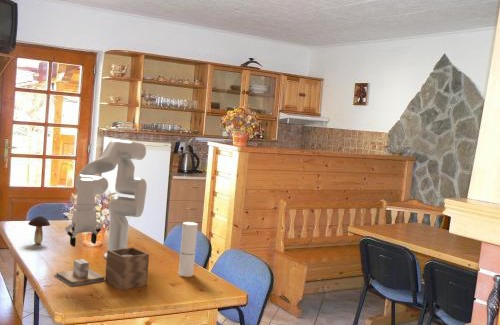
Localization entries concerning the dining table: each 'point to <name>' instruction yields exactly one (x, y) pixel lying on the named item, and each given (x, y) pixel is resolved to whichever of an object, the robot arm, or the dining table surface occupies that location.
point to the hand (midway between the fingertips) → (83, 244)
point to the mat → (77, 284)
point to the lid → (80, 273)
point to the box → (126, 268)
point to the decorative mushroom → (39, 228)
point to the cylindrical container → (188, 249)
